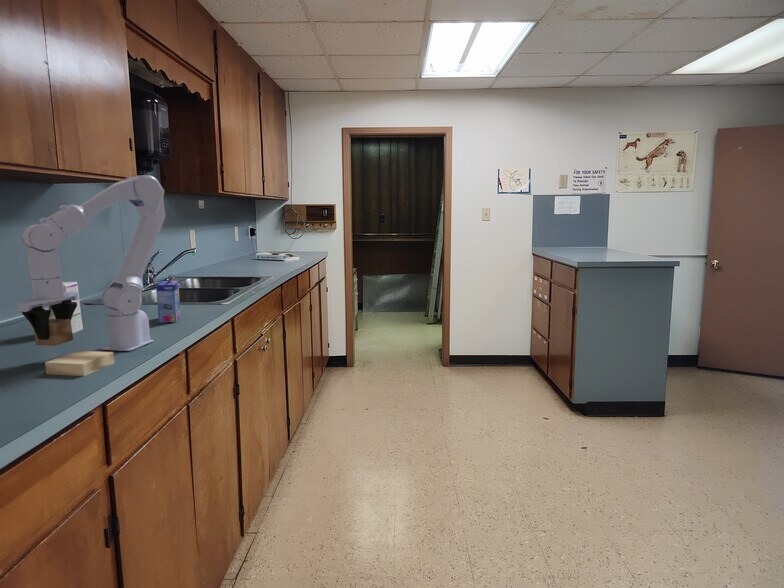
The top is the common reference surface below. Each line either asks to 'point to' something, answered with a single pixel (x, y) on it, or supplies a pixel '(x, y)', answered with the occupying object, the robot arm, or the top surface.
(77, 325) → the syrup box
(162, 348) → the top surface
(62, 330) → the walnut cube
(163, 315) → the ink cartridge box
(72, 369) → the maple block
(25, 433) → the top surface
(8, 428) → the top surface
